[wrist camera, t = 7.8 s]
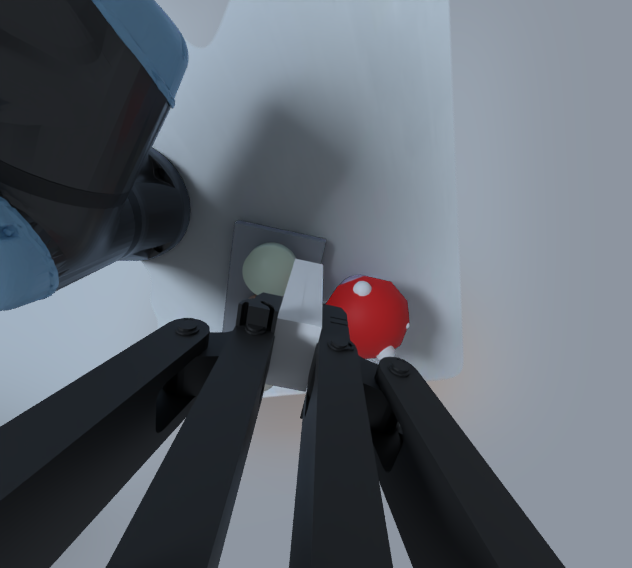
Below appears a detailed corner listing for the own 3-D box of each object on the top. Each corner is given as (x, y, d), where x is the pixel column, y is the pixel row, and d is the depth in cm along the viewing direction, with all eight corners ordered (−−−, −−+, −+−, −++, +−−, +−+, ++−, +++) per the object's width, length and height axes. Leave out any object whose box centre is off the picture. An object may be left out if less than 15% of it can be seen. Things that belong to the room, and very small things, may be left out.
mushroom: (310, 276, 45) (306, 315, 33) (383, 247, 43) (404, 278, 32) (338, 336, 48) (342, 389, 37) (407, 311, 46) (432, 360, 35)
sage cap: (243, 286, 40) (239, 292, 38) (250, 237, 38) (245, 241, 36) (293, 296, 41) (291, 303, 39) (303, 248, 38) (301, 253, 36)
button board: (222, 359, 50) (216, 371, 48) (238, 220, 42) (232, 224, 39) (294, 373, 51) (293, 385, 48) (325, 239, 42) (325, 244, 40)
